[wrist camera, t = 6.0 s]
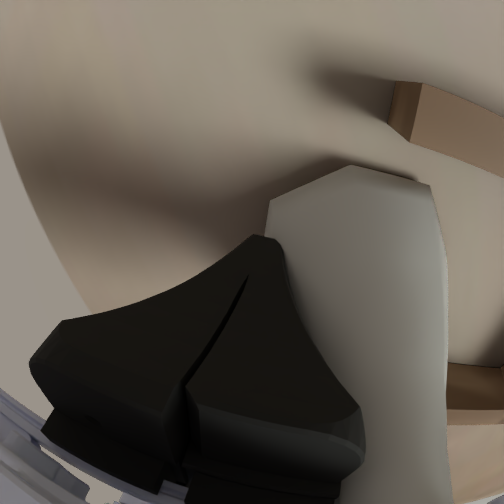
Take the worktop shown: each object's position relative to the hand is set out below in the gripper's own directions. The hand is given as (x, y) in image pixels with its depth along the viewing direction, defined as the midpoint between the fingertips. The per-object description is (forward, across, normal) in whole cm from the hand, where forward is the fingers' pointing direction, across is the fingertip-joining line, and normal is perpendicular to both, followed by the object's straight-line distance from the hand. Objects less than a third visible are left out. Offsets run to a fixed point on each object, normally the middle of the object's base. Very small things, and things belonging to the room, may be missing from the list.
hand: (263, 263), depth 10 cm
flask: (+2, -3, 0) cm, 4 cm away
